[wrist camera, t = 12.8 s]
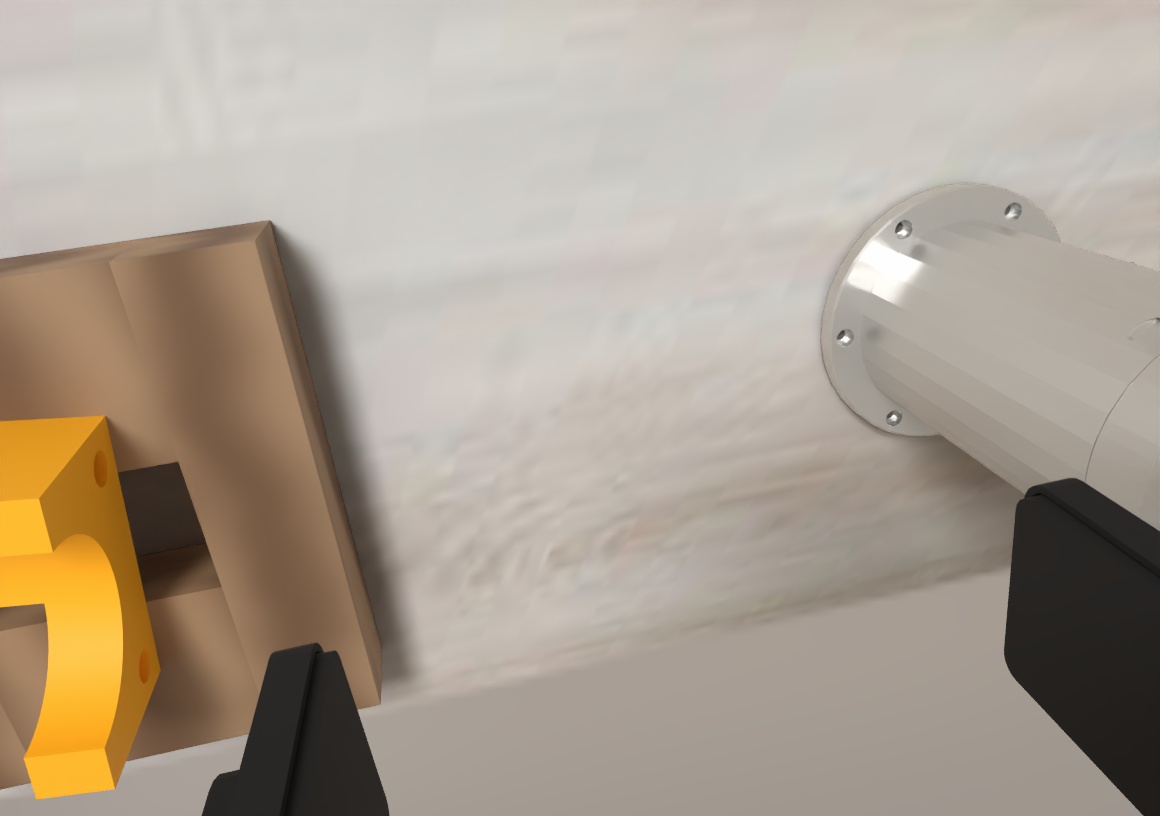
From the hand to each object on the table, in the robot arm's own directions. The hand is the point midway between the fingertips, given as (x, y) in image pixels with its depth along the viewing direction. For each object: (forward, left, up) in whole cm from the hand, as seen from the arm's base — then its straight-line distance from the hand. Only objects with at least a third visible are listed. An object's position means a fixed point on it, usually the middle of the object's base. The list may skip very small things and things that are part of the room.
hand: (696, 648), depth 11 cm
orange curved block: (+19, +9, -23) cm, 31 cm away
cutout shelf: (+19, +9, -27) cm, 34 cm away
